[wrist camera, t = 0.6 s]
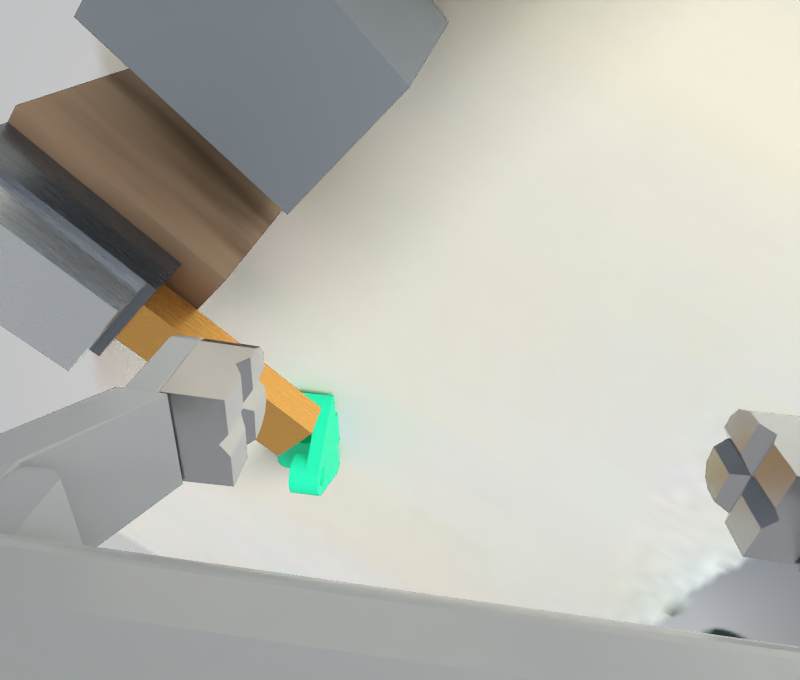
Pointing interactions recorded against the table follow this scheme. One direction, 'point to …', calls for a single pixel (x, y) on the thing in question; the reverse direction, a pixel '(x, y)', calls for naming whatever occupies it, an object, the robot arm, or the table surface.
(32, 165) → the wood and grey block
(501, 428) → the table surface
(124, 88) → the walnut stand
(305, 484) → the camera mount
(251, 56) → the grey stand
